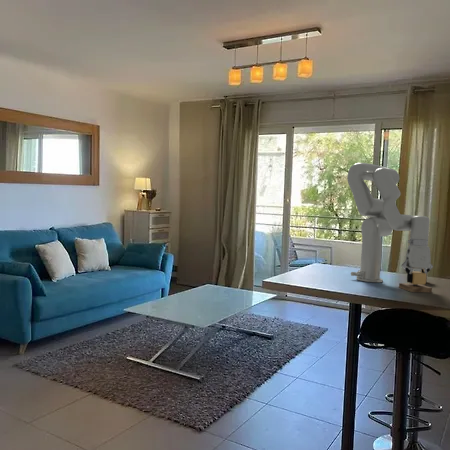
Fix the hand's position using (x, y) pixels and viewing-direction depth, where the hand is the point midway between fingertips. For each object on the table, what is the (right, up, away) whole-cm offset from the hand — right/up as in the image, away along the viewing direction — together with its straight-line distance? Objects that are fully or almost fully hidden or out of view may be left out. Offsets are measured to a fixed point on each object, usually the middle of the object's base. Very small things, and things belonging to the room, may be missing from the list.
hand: (416, 282), depth 207 cm
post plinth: (0, -4, 0) cm, 4 cm away
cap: (0, -1, 0) cm, 1 cm away
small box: (+12, -3, +24) cm, 27 cm away
